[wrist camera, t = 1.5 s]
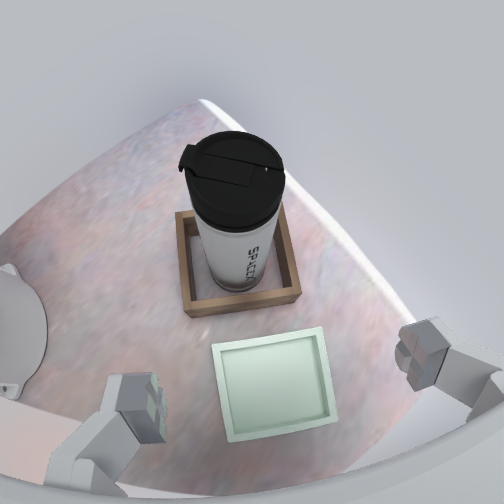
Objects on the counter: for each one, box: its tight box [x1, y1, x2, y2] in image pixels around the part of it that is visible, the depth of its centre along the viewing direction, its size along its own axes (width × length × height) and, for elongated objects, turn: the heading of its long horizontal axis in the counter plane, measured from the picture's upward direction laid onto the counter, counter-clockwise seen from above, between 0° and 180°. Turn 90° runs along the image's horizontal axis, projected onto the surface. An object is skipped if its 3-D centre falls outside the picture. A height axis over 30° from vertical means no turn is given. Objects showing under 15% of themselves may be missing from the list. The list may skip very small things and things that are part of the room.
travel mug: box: [178, 131, 286, 292], centre depth 28 cm, size 6×7×20 cm
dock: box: [211, 326, 338, 443], centre depth 31 cm, size 12×11×2 cm
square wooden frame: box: [175, 202, 302, 318], centre depth 35 cm, size 12×11×5 cm
